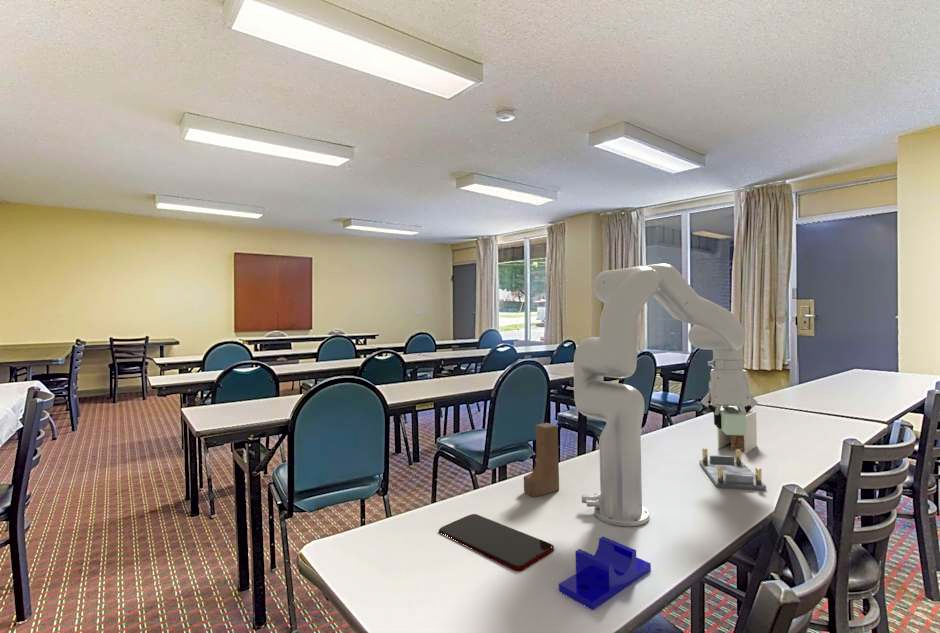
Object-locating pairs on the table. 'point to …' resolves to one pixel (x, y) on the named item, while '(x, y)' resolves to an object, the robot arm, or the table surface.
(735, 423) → the pale green block
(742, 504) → the table surface
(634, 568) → the mounting bracket
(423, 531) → the table surface
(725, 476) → the chassis
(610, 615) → the table surface
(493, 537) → the smartphone
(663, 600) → the table surface
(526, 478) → the wooden block
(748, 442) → the staircase
